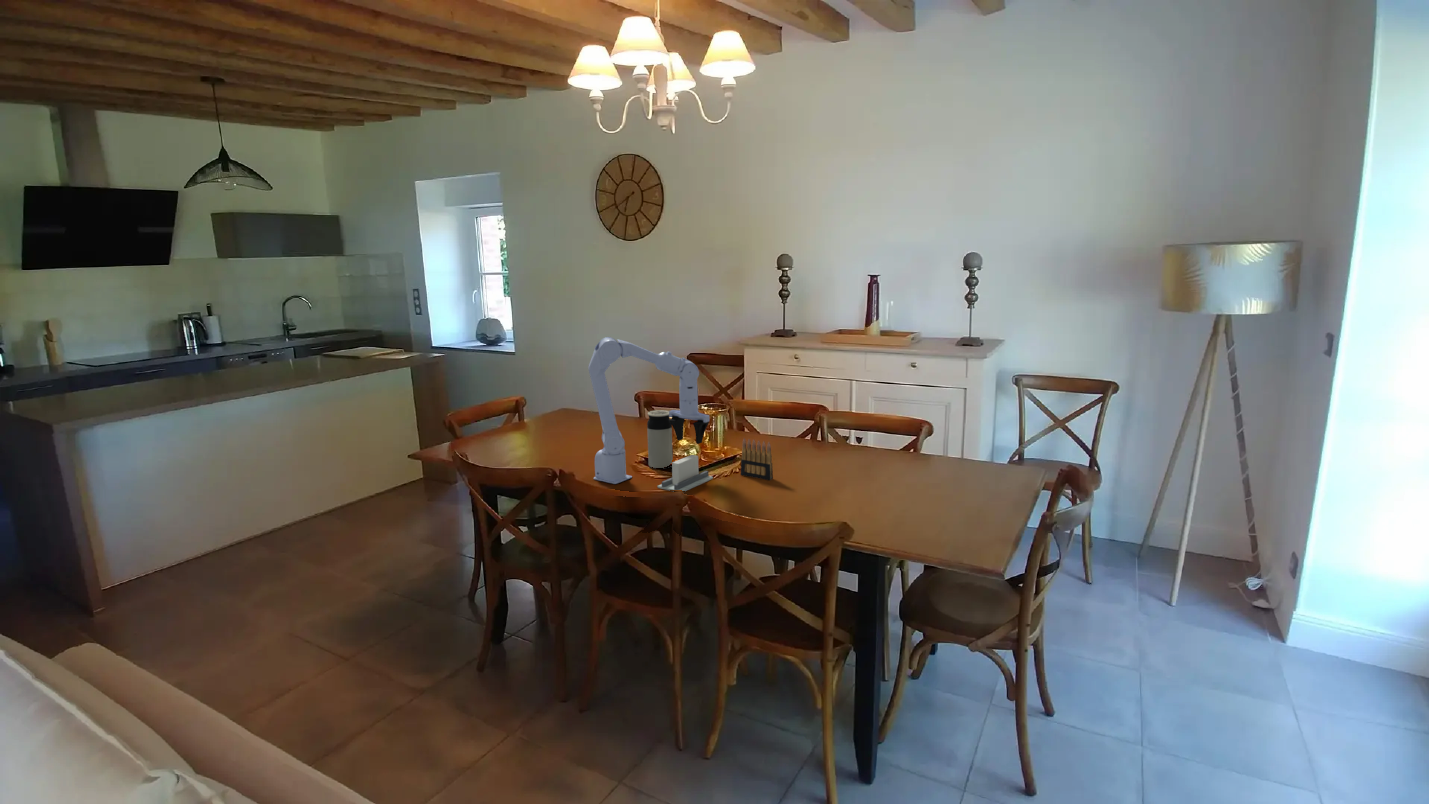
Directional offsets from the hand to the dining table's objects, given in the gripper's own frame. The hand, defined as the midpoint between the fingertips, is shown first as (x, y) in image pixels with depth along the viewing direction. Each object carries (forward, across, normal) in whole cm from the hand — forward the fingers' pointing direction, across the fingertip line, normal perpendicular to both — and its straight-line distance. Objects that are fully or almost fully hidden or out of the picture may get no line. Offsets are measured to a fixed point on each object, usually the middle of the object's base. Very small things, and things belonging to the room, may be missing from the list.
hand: (689, 441), depth 231 cm
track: (+10, -5, +9) cm, 15 cm away
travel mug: (+11, +13, -1) cm, 17 cm away
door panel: (+10, -5, +9) cm, 14 cm away
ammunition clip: (+11, -20, -8) cm, 24 cm away
